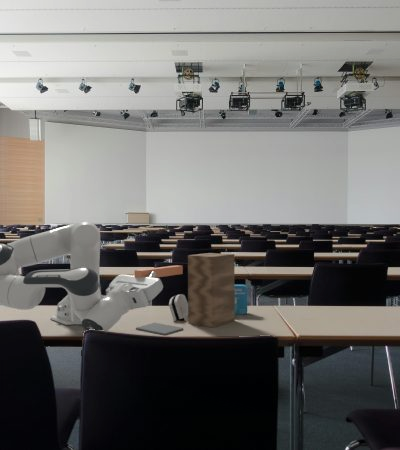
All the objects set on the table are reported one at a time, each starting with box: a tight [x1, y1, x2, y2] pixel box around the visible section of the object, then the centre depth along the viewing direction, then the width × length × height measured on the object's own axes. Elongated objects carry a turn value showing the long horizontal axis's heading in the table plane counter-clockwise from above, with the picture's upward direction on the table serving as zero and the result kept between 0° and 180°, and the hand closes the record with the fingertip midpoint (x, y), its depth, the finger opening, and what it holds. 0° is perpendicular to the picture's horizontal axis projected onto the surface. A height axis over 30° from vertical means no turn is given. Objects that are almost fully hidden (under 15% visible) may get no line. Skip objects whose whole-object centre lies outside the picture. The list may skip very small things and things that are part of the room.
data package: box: [234, 283, 248, 316], centre depth 195 cm, size 12×4×12 cm, turn 84°
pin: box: [134, 264, 184, 278], centre depth 166 cm, size 3×22×3 cm, turn 142°
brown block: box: [187, 252, 236, 328], centre depth 180 cm, size 12×14×26 cm
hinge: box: [168, 293, 188, 322], centre depth 190 cm, size 17×5×10 cm, turn 170°
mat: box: [135, 322, 184, 336], centre depth 168 cm, size 14×10×1 cm
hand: (149, 272), depth 162 cm, fingers closed on pin, 3 cm apart
